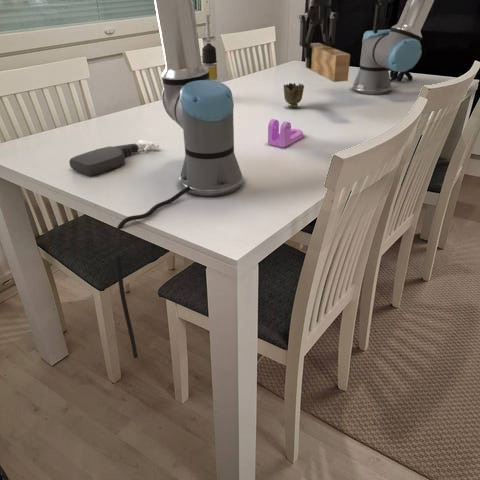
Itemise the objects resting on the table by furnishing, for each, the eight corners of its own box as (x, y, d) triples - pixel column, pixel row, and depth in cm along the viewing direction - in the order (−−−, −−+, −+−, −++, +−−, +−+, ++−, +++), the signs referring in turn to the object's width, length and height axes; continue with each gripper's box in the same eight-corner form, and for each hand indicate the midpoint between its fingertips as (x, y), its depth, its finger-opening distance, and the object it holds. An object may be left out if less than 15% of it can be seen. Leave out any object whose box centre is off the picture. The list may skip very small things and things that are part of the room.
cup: (279, 108, 165) (280, 86, 160) (287, 103, 170) (288, 82, 166) (298, 111, 162) (299, 88, 157) (305, 105, 167) (307, 83, 163)
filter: (220, 99, 177) (217, 15, 161) (206, 100, 176) (202, 16, 160) (215, 96, 182) (212, 14, 166) (202, 97, 180) (197, 14, 164)
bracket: (283, 147, 130) (284, 124, 126) (267, 143, 133) (268, 120, 129) (305, 135, 139) (307, 113, 135) (290, 132, 142) (291, 110, 138)
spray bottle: (67, 168, 120) (139, 144, 136) (91, 178, 114) (163, 151, 130) (65, 157, 118) (137, 134, 134) (89, 167, 112) (162, 142, 128)
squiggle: (400, 92, 202) (376, 71, 205) (417, 76, 202) (392, 56, 205) (405, 81, 191) (380, 59, 194) (423, 64, 191) (397, 42, 194)
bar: (347, 80, 143) (350, 54, 139) (333, 82, 142) (336, 55, 138) (317, 66, 164) (318, 42, 159) (305, 67, 163) (306, 43, 159)
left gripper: (407, -64, 111) (393, 30, 122) (306, -61, 113) (301, 31, 124) (415, -65, 104) (399, 34, 115) (308, -63, 106) (302, 35, 117)
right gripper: (340, -10, 152) (334, 63, 164) (290, -7, 148) (288, 67, 161) (350, -8, 146) (343, 67, 158) (298, -6, 142) (295, 71, 155)
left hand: (349, 32), depth 120 cm, fingers open, 13 cm apart
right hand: (315, 66), depth 159 cm, fingers closed on bar, 5 cm apart
